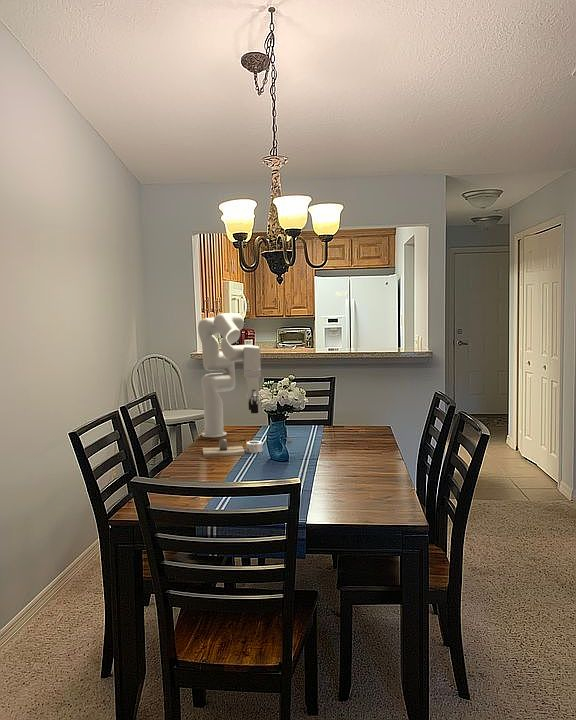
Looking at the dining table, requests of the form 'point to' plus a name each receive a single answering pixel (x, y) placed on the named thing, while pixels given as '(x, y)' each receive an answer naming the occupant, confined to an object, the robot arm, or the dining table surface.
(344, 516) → the dining table surface
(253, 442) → the ring
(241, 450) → the block
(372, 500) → the dining table surface
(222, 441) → the dark domed cylinder
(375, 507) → the dining table surface
